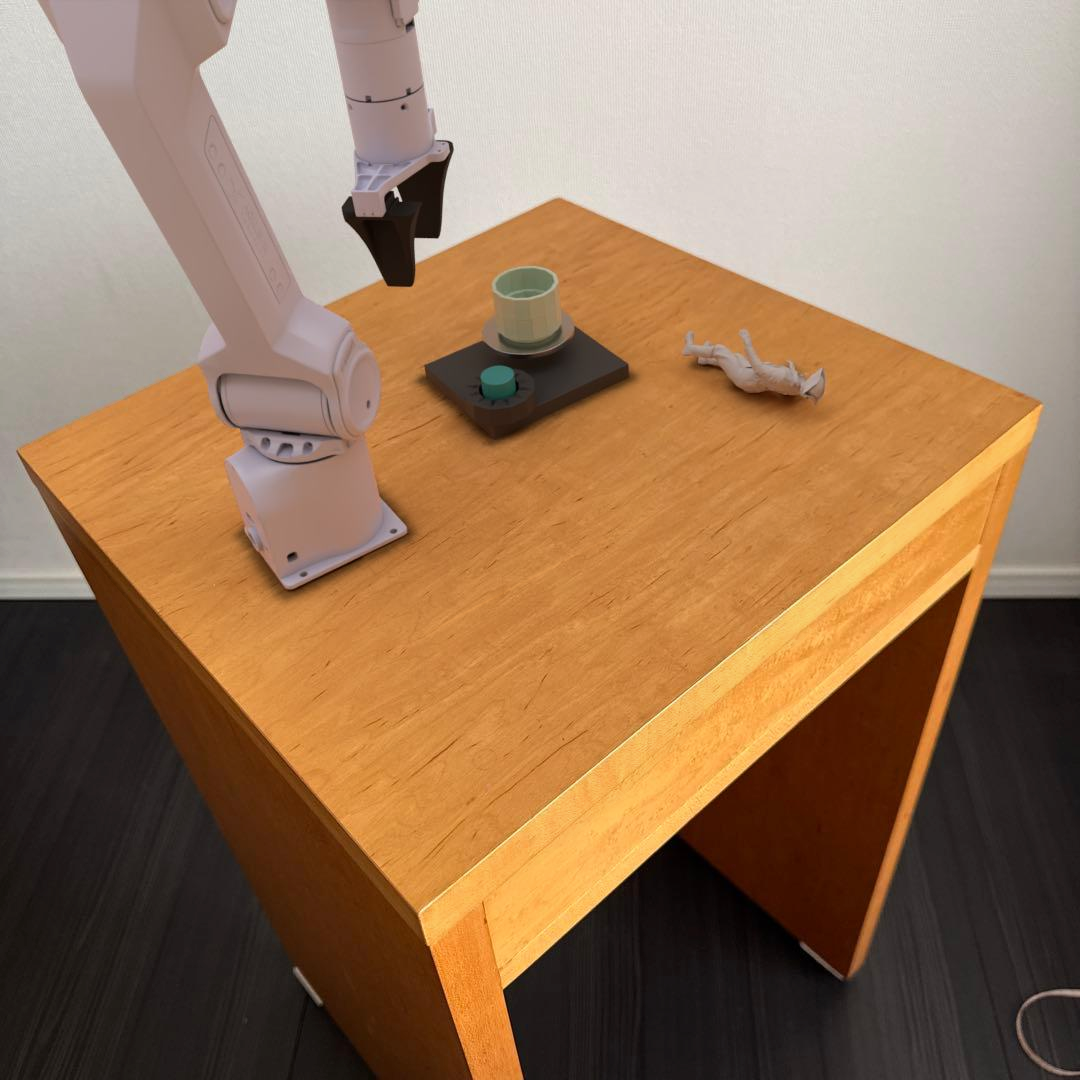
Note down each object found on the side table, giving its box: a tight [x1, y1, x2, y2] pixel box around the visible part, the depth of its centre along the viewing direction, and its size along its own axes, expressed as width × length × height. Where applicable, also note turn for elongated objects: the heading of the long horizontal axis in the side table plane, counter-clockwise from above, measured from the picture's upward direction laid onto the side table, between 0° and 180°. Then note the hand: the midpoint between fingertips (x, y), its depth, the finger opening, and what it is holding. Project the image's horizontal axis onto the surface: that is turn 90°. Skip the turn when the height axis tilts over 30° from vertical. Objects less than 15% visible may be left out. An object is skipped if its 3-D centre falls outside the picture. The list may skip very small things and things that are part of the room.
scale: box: [424, 325, 630, 440], centre depth 92 cm, size 14×12×3 cm
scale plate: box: [481, 309, 575, 359], centre depth 92 cm, size 8×8×1 cm
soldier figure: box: [681, 328, 827, 406], centre depth 88 cm, size 8×5×12 cm
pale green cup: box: [490, 265, 562, 343], centre depth 91 cm, size 5×5×4 cm
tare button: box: [481, 366, 516, 400], centre depth 87 cm, size 3×3×2 cm
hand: (414, 259), depth 89 cm, fingers open, 7 cm apart
